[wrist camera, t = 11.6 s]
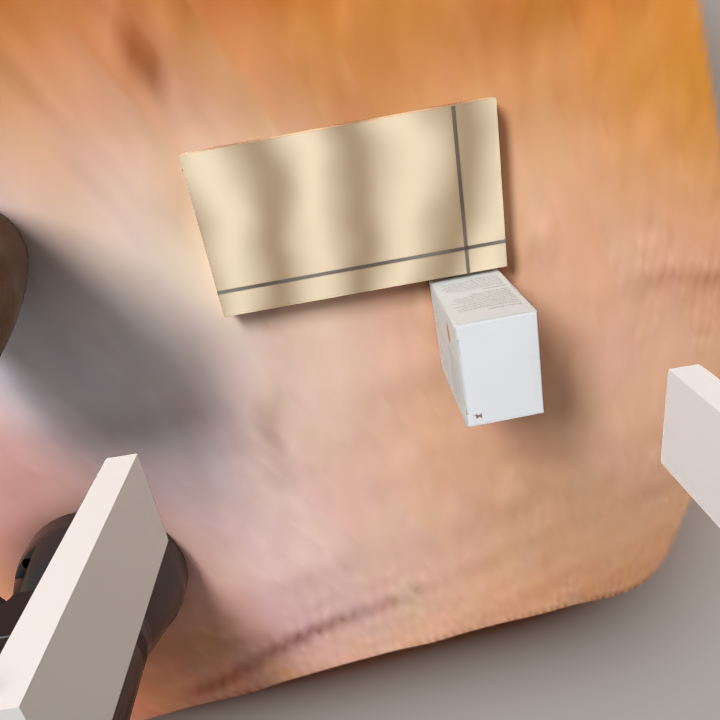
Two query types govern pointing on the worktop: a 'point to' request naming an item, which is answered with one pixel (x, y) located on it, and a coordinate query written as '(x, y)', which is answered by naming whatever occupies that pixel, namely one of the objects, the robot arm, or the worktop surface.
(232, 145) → the board
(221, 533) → the worktop surface
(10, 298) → the plant pot
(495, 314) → the small box
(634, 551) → the worktop surface
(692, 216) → the worktop surface
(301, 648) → the worktop surface
